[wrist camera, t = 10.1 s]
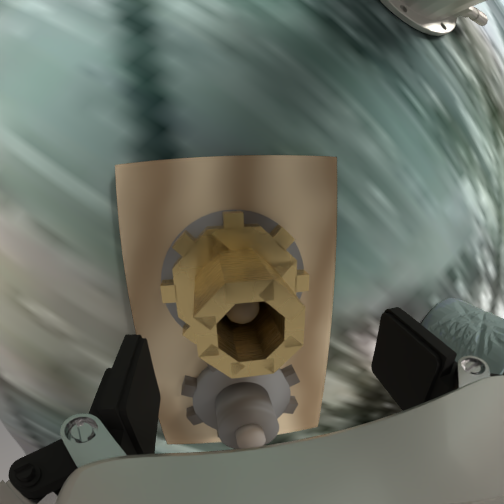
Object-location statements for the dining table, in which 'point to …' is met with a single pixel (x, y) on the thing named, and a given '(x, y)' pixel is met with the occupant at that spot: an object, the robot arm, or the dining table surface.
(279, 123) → the dining table surface
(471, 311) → the grey cup
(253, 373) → the brass gear
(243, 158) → the gear board
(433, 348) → the robot arm
